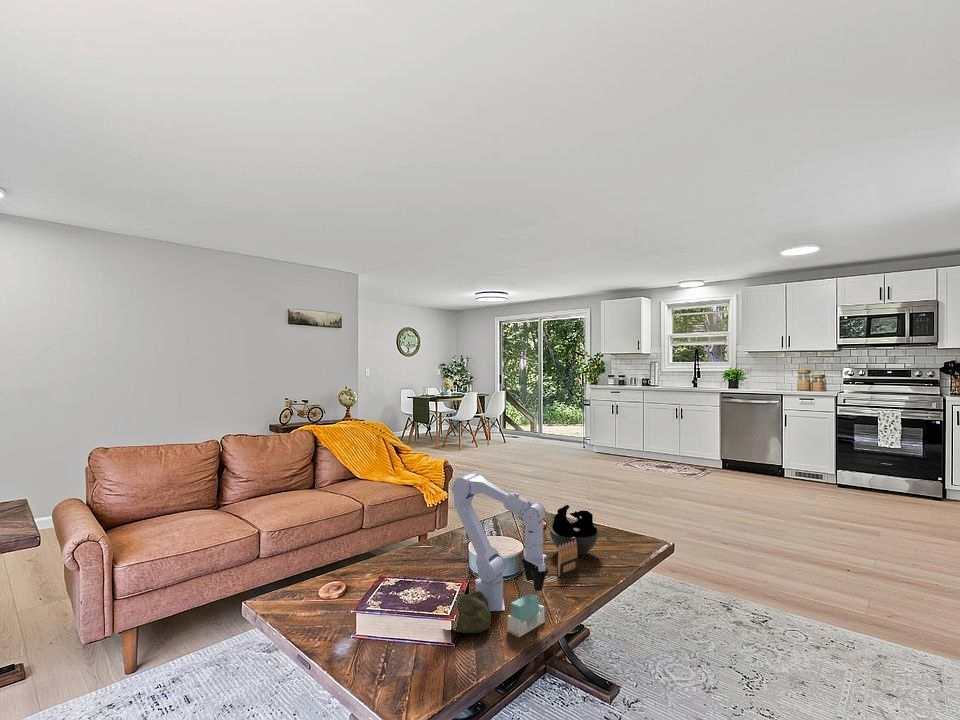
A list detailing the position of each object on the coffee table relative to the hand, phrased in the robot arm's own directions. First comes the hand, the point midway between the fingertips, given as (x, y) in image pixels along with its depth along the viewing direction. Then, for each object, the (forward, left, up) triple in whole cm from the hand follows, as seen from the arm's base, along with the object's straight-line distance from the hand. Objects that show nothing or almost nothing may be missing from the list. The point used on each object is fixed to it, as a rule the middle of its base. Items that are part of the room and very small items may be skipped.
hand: (534, 585), depth 165 cm
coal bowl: (+23, +52, -10) cm, 58 cm away
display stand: (-3, -7, -10) cm, 12 cm away
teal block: (-4, -7, -6) cm, 10 cm away
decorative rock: (-21, -6, -10) cm, 24 cm away
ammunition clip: (+17, +33, -10) cm, 38 cm away
